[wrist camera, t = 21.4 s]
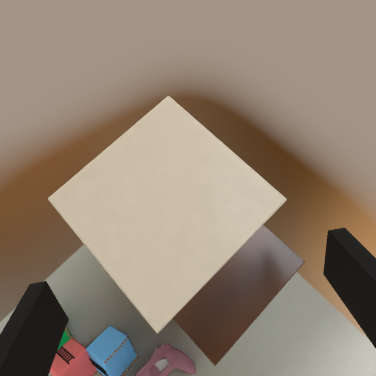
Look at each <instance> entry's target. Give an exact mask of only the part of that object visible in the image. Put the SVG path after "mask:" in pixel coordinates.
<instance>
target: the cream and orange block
mask: <svg viewBox="0 0 376 376" xmlns="http://www.w3.org/2000/svg"><path fill="white" fill-rule="evenodd" d="M48 200H49V201H50V202H51V204H52V205H53V206H54V207H55V209H56V210H57V211H58V212H59V213H60V215H61V216H62V217H63V219H64V220H65V221H66V222H67V223H68V225H69V226H70V227H71V228H72V230H73V231H74V232H75V233H76V235H77V236H78V237H79V238H80V239H81V241H82V242H83V243H84V244H85V246H86V247H87V248H88V249H89V251H90V252H91V253H92V254H93V256H94V257H95V258H96V259H97V261H98V262H99V263H100V264H101V265H102V267H103V268H104V269H105V270H106V272H107V273H108V274H109V275H110V277H111V278H112V279H113V280H114V282H115V283H116V284H117V285H118V286H119V288H120V289H121V290H122V291H123V293H124V294H125V295H126V296H127V298H128V299H129V300H130V301H131V302H132V304H133V305H134V306H135V307H136V309H137V310H138V311H139V312H140V314H141V315H142V316H143V317H144V319H145V320H146V321H147V322H148V323H149V325H150V326H151V327H152V328H153V330H154V331H155V332H156V333H159V332H160V331H161V330H162V329H163V328H164V327H165V326H166V325H167V324H168V323H169V322H170V320H171V319H172V318H173V317H174V316H175V315H176V314H177V313H178V312H179V311H180V310H181V309H182V308H183V307H184V306H185V305H186V304H187V303H188V302H189V301H190V300H191V299H192V298H193V297H194V296H195V295H196V294H197V293H198V292H199V290H200V289H201V288H202V287H203V286H204V285H205V284H206V283H207V282H208V281H209V280H210V279H211V278H212V277H213V276H214V275H215V274H216V273H217V272H218V271H219V270H220V269H221V268H222V267H223V266H224V265H225V264H226V263H227V261H228V260H229V259H230V258H231V257H232V256H233V255H234V254H235V253H236V252H237V251H238V250H239V249H240V248H241V247H242V246H243V245H244V244H245V243H246V242H247V241H248V240H249V239H250V238H251V237H252V236H253V235H254V234H255V233H256V231H257V230H258V229H259V228H260V227H261V226H262V225H263V224H264V223H265V222H266V221H267V220H268V219H269V218H270V217H271V216H272V215H273V214H274V213H275V212H276V211H277V210H278V209H279V208H280V207H281V206H282V205H283V204H284V202H285V201H286V198H285V197H284V196H283V195H281V194H280V193H279V192H278V191H277V190H276V189H275V188H273V187H272V186H271V185H270V184H269V183H268V182H267V181H265V180H264V179H263V178H262V177H261V176H260V175H259V174H257V173H256V172H255V171H254V170H253V169H251V167H249V166H248V165H247V164H246V163H245V162H244V161H243V160H241V159H240V158H239V157H238V156H237V155H236V154H234V153H233V152H232V151H231V150H230V149H229V148H228V147H227V146H225V145H224V144H223V143H222V142H221V141H220V140H219V139H217V138H216V137H215V136H214V135H213V134H212V133H210V132H209V131H208V130H207V129H206V128H205V127H204V126H203V125H201V124H200V123H199V122H198V121H197V120H196V119H194V118H193V117H192V116H191V115H190V114H189V113H188V112H187V111H185V110H184V109H183V108H182V107H181V106H180V105H179V104H177V103H176V102H175V101H174V100H173V99H172V98H171V97H169V96H168V97H166V98H165V99H164V100H163V101H162V102H161V103H159V104H158V105H157V106H156V107H155V108H153V109H152V110H151V111H150V112H149V113H148V114H146V115H145V116H144V117H143V118H142V119H141V120H139V121H138V122H137V123H136V124H135V125H133V126H132V127H131V128H130V129H129V130H128V131H126V132H125V133H124V134H123V135H122V136H121V137H120V138H118V139H117V140H116V141H115V142H114V143H112V144H111V145H110V146H109V147H108V148H106V149H105V150H104V151H103V152H102V153H101V154H99V155H98V156H97V157H96V158H95V159H94V160H93V161H91V162H90V163H89V164H88V165H87V166H86V167H84V168H83V169H82V170H81V171H79V172H78V173H77V174H76V175H75V176H74V177H72V178H71V179H70V180H69V181H68V182H67V183H65V185H63V186H62V187H61V188H59V189H58V190H57V191H56V192H55V193H54V194H52V196H50V197H49V198H48Z"/></svg>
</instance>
